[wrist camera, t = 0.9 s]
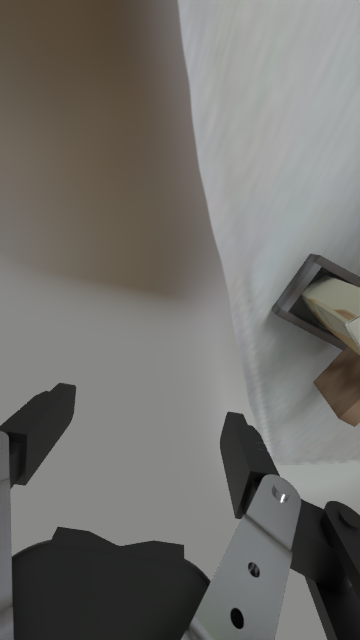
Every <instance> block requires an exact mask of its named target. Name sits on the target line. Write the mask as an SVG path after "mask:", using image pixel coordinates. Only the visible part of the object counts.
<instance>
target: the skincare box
mask: <svg viewBox="0 0 360 640" xmlns="http://www.w3.org/2000/svg"><path fill="white" fill-rule="evenodd" d="M300 296H301V298H302V299H303V301H304V303H305V304H306V305H307V307H308V308H309V310H310V311H311V312H312V314H313V315H314V316H315V318H316V319H317V320H318V322H319V323H320V324H322V325H323V326H324V327H325V328H327V329H328V330H329V331H331V332H332V333H333V334H334V335H335V336H337V337H338V338H339V339H340V340H342V341H343V342H344V343H345V344H346V345H348V346H349V347H350V348H351V349H353V350H354V351H355V352H356V353H358V354H359V355H360V287H357V286H354V285H352V284H349V283H346V282H343V281H341V280H338V279H335V278H333V277H330V276H327V275H324V276H323V277H321V278H319V279H318V280H316V281H315V282H313V283H312V284H310V285H309V286H307V287H306V288H305V290H304V291H303V292H302V294H301V295H300Z"/></svg>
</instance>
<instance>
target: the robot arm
mask: <svg viewBox="0 0 360 640" xmlns="http://www.w3.org/2000/svg"><path fill="white" fill-rule="evenodd" d="M75 394H76V386H75V385H70V384H64V383H59V384H58V385H56V386H55V387H54V388H53V389H52V390H51V391H50V392H48V391H45V392H42V393H40V394H38V395H36V396H34V397H33V398H32V399H31V400H30V401H29V402H27V404H25V405H24V406H23V407H22V408H21V409H20V410H18V411H17V412H16V413H15V414H14V415H12V416H11V417H10V418H9V419H8V420H7V421H6V422H4V423H3V424H2V425H1V426H0V640H275V635H276V630H277V625H278V621H279V616H280V612H281V607H282V602H283V598H284V593H285V588H286V583H287V579H288V574H289V569H290V568H291V569H293V570H295V571H297V572H298V573H301V574H302V575H304V576H305V579H306V581H307V584H308V587H309V589H310V592H311V595H312V598H313V601H314V603H315V606H316V609H317V612H318V615H319V617H320V620H321V623H322V626H323V628H324V631H325V634H326V637H327V639H328V640H360V515H359V514H357V513H356V512H355V511H354V510H352V509H351V508H349V507H348V506H346V505H344V504H342V503H340V502H337V501H329V502H328V503H327V504H326V506H325V508H324V509H322V508H320V507H317V506H315V505H313V504H310V503H308V502H306V501H304V500H302V499H301V498H300V496H299V494H298V492H297V490H296V489H295V488H294V487H293V486H292V485H291V484H290V483H289V482H288V481H287V480H285V479H283V478H281V477H280V475H279V473H278V471H277V469H276V467H275V465H274V463H273V461H272V459H271V456H270V454H269V452H268V451H267V448H266V446H265V444H264V442H263V440H262V438H261V435H260V434H259V433H258V431H257V430H256V429H255V428H254V427H253V426H250V425H248V424H247V422H246V420H245V418H244V415H243V414H239V413H233V412H228V413H227V415H226V419H225V423H224V427H223V430H222V434H221V438H220V450H221V455H222V459H223V464H224V468H225V473H226V478H227V482H228V487H229V491H230V496H231V501H232V505H233V510H234V514H235V518H237V519H241V521H240V523H239V525H238V527H237V529H236V531H235V533H234V535H233V537H232V539H231V541H230V543H229V545H228V548H227V549H226V551H225V554H224V556H223V558H222V560H221V562H220V564H219V566H218V568H217V570H216V572H215V575H214V576H213V578H212V580H211V581H210V580H209V579H208V578H207V576H206V575H205V574H204V573H203V572H202V571H201V570H200V569H199V568H198V567H197V566H195V565H194V564H192V563H191V562H190V561H188V560H186V559H184V545H180V544H173V543H167V542H160V541H148V542H142V543H136V544H131V545H125V546H118V545H115V544H113V543H111V542H109V541H107V540H105V539H103V538H101V537H99V536H97V535H95V534H94V533H91V532H89V531H84V530H76V529H69V528H63V527H57V529H56V531H55V533H54V535H53V538H52V540H47V541H44V542H40V543H37V544H35V545H32V546H30V547H27V548H26V549H24V550H22V551H20V552H18V553H17V554H15V555H14V556H12V554H11V504H10V489H11V488H12V487H13V485H14V484H18V485H26V484H27V483H28V481H29V480H30V478H31V477H32V475H33V474H34V473H35V472H36V470H37V469H38V467H39V466H40V465H41V463H42V462H43V460H44V459H45V458H46V456H47V455H48V453H49V452H50V451H51V449H52V448H53V446H54V445H55V443H56V442H57V441H58V440H59V438H60V437H61V435H62V434H63V433H64V431H65V430H66V428H67V427H68V426H69V424H70V422H71V420H72V417H73V414H74V405H75Z"/></svg>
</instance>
